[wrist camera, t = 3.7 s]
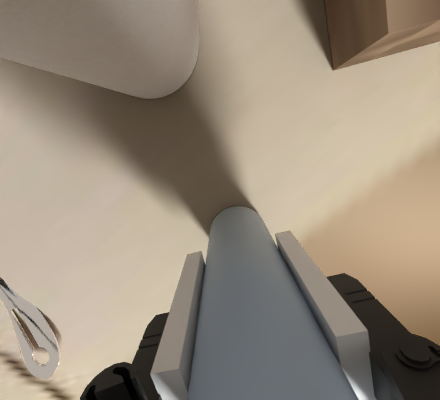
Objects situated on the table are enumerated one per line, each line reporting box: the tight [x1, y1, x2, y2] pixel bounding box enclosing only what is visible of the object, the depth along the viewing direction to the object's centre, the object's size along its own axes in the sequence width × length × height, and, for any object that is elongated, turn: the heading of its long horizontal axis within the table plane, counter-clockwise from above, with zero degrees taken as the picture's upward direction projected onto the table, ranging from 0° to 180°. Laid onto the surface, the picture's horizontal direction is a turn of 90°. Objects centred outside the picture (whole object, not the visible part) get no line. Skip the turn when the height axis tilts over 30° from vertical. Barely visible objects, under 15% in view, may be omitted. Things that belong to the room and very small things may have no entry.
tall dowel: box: [187, 206, 359, 400], centre depth 9 cm, size 4×4×16 cm
